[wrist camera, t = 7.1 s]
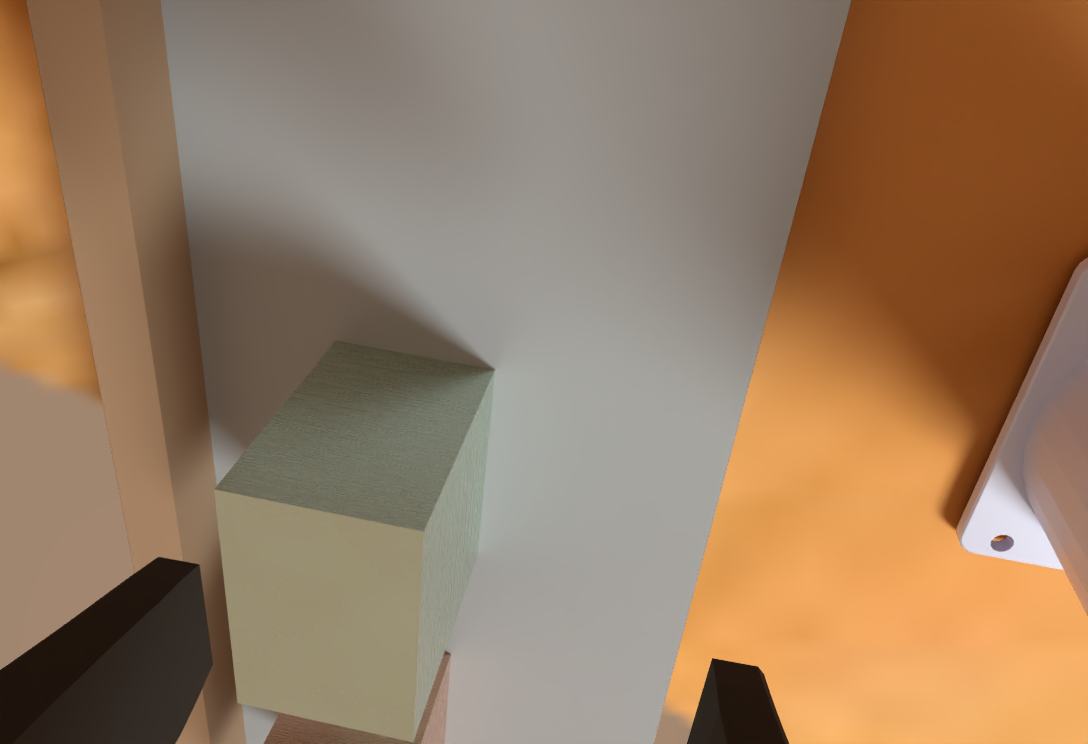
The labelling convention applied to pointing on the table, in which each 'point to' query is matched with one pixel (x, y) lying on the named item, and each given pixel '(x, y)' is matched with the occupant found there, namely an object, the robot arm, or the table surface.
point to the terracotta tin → (310, 740)
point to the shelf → (447, 286)
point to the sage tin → (355, 537)
